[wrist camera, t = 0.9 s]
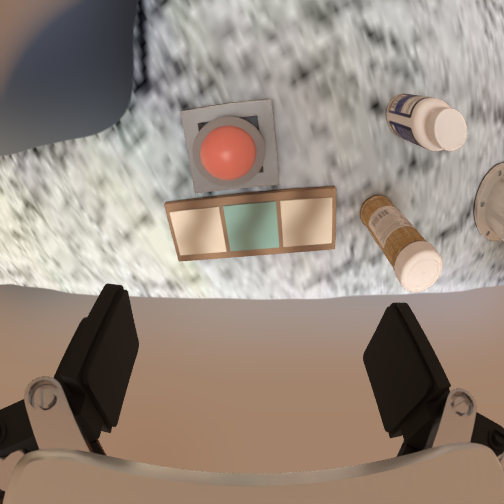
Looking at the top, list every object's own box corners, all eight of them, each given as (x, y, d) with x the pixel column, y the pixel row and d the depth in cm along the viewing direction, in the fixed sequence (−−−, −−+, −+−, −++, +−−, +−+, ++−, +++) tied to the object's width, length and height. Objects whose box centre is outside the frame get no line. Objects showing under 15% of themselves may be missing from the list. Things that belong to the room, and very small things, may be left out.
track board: (334, 186, 33) (336, 189, 32) (333, 245, 37) (335, 249, 36) (166, 202, 35) (163, 205, 34) (180, 258, 39) (178, 262, 38)
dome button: (261, 110, 27) (261, 115, 22) (267, 174, 30) (269, 192, 26) (193, 119, 27) (179, 126, 23) (203, 181, 31) (193, 200, 26)
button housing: (270, 98, 28) (271, 99, 26) (278, 177, 33) (279, 184, 31) (186, 109, 29) (180, 111, 27) (199, 185, 33) (195, 193, 31)
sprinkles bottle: (367, 233, 36) (407, 301, 25) (353, 204, 34) (395, 267, 23) (397, 217, 35) (447, 279, 23) (385, 187, 33) (439, 242, 21)
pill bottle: (425, 137, 29) (472, 159, 21) (386, 138, 30) (428, 160, 21) (422, 94, 26) (472, 103, 18) (382, 93, 27) (426, 99, 19)
